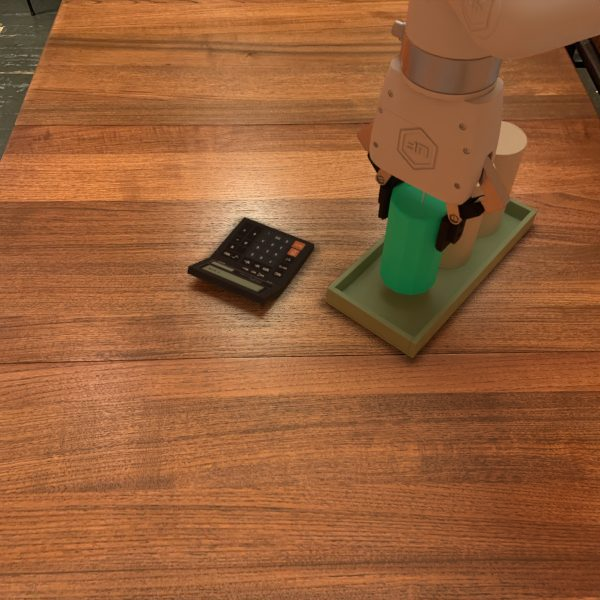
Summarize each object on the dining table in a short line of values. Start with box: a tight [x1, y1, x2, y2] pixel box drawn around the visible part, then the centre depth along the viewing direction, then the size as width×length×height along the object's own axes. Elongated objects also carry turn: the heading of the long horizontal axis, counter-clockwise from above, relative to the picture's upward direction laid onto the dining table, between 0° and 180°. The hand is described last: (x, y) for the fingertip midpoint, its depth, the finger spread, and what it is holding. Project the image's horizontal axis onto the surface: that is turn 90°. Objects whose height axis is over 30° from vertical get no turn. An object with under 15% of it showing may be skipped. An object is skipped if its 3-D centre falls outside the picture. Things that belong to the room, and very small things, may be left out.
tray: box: [325, 196, 538, 359], centre depth 73 cm, size 11×25×2 cm, turn 139°
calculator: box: [186, 216, 315, 307], centre depth 73 cm, size 9×12×3 cm
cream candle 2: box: [477, 120, 528, 238], centre depth 73 cm, size 6×6×12 cm
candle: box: [380, 182, 447, 295], centre depth 64 cm, size 6×6×12 cm
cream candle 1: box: [439, 163, 496, 269], centre depth 70 cm, size 6×6×12 cm
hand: (417, 225), depth 64 cm, fingers closed on candle, 5 cm apart
